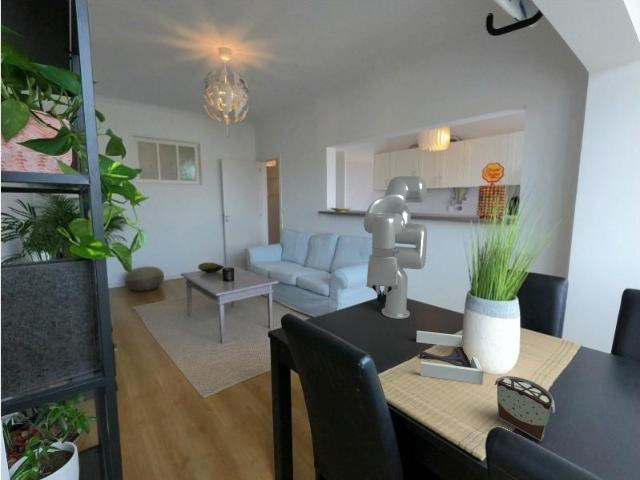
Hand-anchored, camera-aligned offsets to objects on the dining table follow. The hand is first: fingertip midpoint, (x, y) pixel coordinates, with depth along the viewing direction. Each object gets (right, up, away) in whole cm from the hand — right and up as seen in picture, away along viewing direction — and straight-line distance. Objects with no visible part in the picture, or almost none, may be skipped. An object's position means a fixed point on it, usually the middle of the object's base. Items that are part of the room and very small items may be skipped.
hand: (381, 304), depth 106 cm
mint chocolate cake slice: (+28, -22, -32) cm, 48 cm away
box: (+20, -18, -3) cm, 27 cm away
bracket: (+20, -19, -3) cm, 28 cm away
